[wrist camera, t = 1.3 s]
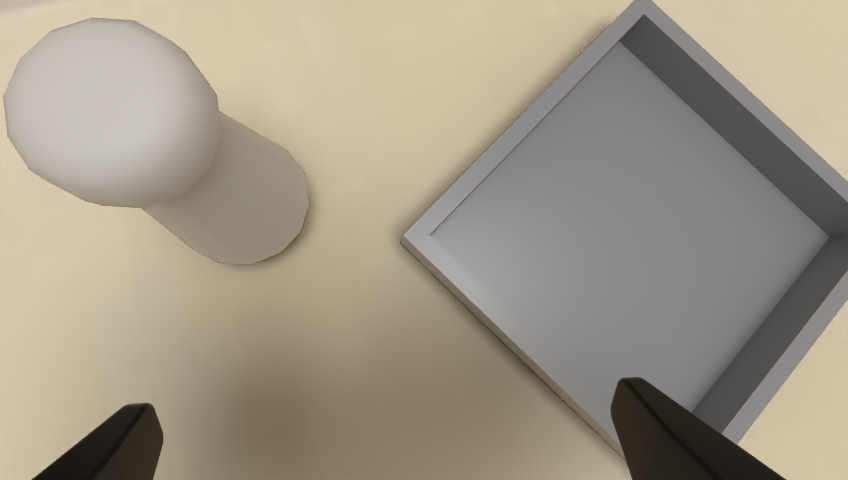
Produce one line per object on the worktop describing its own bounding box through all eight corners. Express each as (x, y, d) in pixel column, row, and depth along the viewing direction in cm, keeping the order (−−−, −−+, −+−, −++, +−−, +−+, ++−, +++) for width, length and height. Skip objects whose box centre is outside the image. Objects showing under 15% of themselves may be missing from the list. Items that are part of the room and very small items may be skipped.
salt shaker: (187, 160, 23) (-72, -22, 10) (306, 142, 23) (207, -52, 10) (203, 279, 22) (-53, 250, 9) (325, 257, 23) (244, 202, 10)
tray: (647, 482, 22) (687, 509, 20) (400, 243, 23) (403, 235, 20) (839, 238, 25) (900, 230, 22) (612, 28, 25) (642, -9, 22)
